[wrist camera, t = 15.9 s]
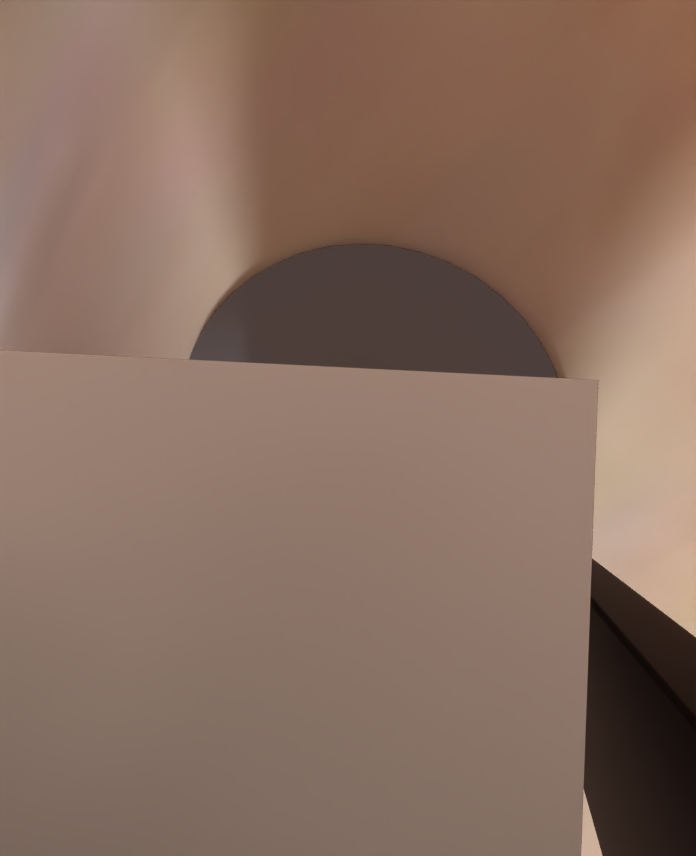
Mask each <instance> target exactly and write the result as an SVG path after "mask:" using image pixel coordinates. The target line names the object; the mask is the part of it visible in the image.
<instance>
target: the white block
mask: <svg viewBox="0 0 696 856" xmlns="http://www.w3.org/2000/svg"><path fill="white" fill-rule="evenodd" d="M597 404H598V380H586V379H566V378H546V377H526V376H506V375H486V374H466V373H446V372H426V371H406V370H386V369H366V368H346V367H326V366H306V365H286V364H266V363H246V362H226V361H206V360H186V359H167V358H147V357H127V356H107V355H87V354H67V353H47V352H27V351H7V350H0V856H581V844H582V817H583V789H584V762H585V734H586V707H587V679H588V652H589V624H590V597H591V569H592V542H593V514H594V486H595V459H596V431H597Z"/></svg>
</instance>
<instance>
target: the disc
mask: <svg viewBox="0 0 696 856" xmlns="http://www.w3.org/2000/svg"><path fill="white" fill-rule="evenodd" d="M189 360H206V361H226V362H246V363H266V364H286V365H306V366H326V367H346V368H366V369H386V370H406V371H426V372H446V373H466V374H486V375H506V376H526V377H546V378H558V377H557V374H556V371H555V368H554V366H553V364H552V362H551V360H550V358H549V357H548V355H547V353H546V351H545V349H544V347H543V345H542V343H541V342H540V340H539V339H538V337H537V336H536V335H535V333H534V332H533V331H532V329H531V328H530V327H529V325H528V324H527V322H526V321H525V320H524V318H523V317H522V316H521V315H520V314H519V313H518V312H517V311H516V310H515V309H514V308H513V307H512V306H511V305H510V304H509V303H508V302H507V301H506V300H505V299H504V298H503V297H502V296H501V295H499V294H498V293H497V292H495V291H494V290H493V289H491V288H490V287H489V286H487V285H486V284H485V283H483V282H482V281H481V280H479V279H478V278H476V277H475V276H473V275H471V274H469V273H467V272H465V271H463V270H462V269H460V268H458V267H456V266H454V265H452V264H451V263H448V262H446V261H443V260H440V259H437V258H435V257H432V256H429V255H427V254H424V253H421V252H417V251H412V250H408V249H403V248H398V247H393V246H386V245H370V244H351V245H339V246H329V247H325V248H320V249H316V250H312V251H307V252H303V253H300V254H298V255H295V256H293V257H290V258H288V259H285V260H282V261H280V262H277V263H275V264H274V265H272V266H270V267H268V268H267V269H265V270H263V271H261V272H260V273H258V274H256V275H255V276H253V277H252V278H250V279H249V280H248V281H247V282H245V283H244V284H243V285H242V286H240V287H239V288H238V289H237V290H235V291H234V292H233V293H232V294H231V295H230V296H229V297H228V298H227V299H226V300H225V302H224V303H223V304H222V305H221V306H220V307H219V308H218V309H217V310H216V311H215V313H214V314H213V316H212V317H211V319H210V320H209V322H208V323H207V325H206V326H205V327H204V329H203V330H202V332H201V334H200V336H199V338H198V340H197V342H196V345H195V347H194V349H193V351H192V353H191V356H190V359H189Z"/></svg>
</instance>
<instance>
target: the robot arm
mask: <svg viewBox="0 0 696 856" xmlns="http://www.w3.org/2000/svg"><path fill="white" fill-rule="evenodd" d="M584 791H585V795H586V798H587V802H588V805H589V809H590V812H591V816H592V819H593V823H594V827H595V830H596V834H597V837H598V841H599V844H600V848H601V851H602V855H603V856H696V637H694V636H693V635H692V634H691V633H689V632H688V631H687V630H685V629H684V628H683V627H681V626H680V625H679V624H677V623H676V622H675V621H673V620H672V619H671V618H670V617H668V616H667V615H666V614H664V613H663V612H662V611H660V610H659V609H658V608H656V607H655V606H654V605H652V604H651V603H650V602H649V601H647V600H646V599H645V598H643V597H642V596H641V595H639V594H638V593H637V592H635V591H634V590H633V589H631V588H630V587H629V586H628V585H626V584H625V583H624V582H622V581H621V580H620V579H618V578H617V577H616V576H614V575H613V574H612V573H610V572H609V571H608V570H607V569H605V568H604V567H603V566H601V565H600V564H599V563H597V562H596V561H595V560H593V559H592V569H591V597H590V624H589V652H588V679H587V707H586V734H585V762H584Z"/></svg>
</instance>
